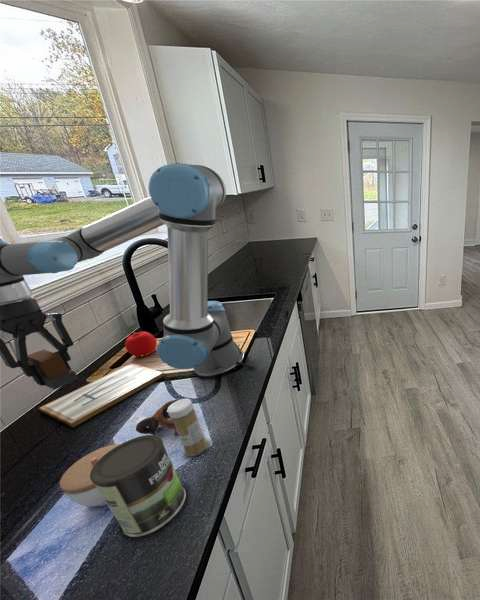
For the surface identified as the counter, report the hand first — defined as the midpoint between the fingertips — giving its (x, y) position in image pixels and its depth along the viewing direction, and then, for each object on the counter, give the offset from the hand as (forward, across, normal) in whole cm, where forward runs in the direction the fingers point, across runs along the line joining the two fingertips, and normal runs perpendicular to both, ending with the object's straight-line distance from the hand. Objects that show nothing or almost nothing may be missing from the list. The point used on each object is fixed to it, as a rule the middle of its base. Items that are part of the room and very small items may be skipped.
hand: (55, 377), depth 86 cm
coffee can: (+11, +10, +55) cm, 57 cm away
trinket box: (+11, +11, +42) cm, 45 cm away
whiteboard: (+11, -8, 0) cm, 14 cm away
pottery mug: (+11, -5, +36) cm, 38 cm away
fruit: (+12, -27, -14) cm, 33 cm away
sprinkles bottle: (+11, -3, +49) cm, 50 cm away
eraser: (+1, 0, 0) cm, 1 cm away
